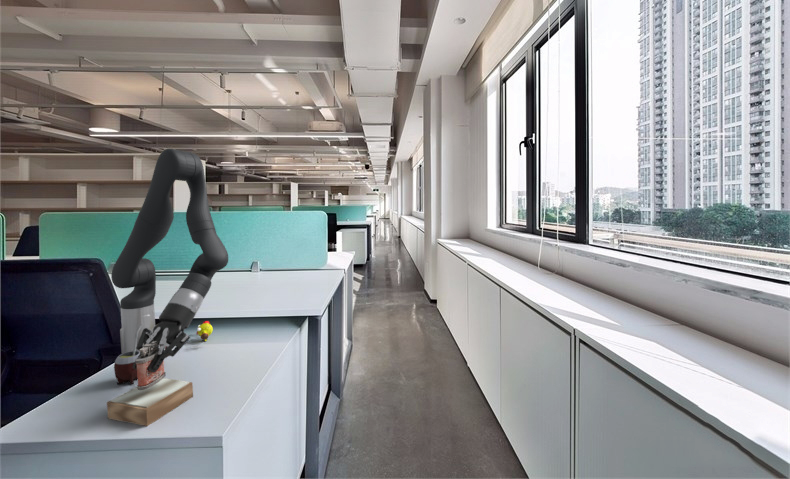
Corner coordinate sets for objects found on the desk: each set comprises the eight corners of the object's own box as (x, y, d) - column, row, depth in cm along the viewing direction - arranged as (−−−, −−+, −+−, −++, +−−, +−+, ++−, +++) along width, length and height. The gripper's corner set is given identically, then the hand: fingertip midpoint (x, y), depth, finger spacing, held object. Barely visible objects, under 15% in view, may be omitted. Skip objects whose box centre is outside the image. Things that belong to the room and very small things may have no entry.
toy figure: (198, 334, 138) (197, 317, 138) (213, 332, 141) (212, 316, 140) (195, 350, 122) (194, 332, 122) (212, 347, 125) (212, 329, 124)
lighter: (147, 390, 83) (144, 350, 82) (133, 390, 83) (130, 350, 82) (169, 374, 91) (166, 337, 90) (156, 374, 91) (153, 338, 90)
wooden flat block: (108, 418, 82) (106, 401, 82) (157, 390, 95) (156, 375, 95) (147, 426, 79) (146, 408, 79) (193, 396, 92) (192, 381, 92)
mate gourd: (116, 389, 96) (113, 337, 94) (113, 379, 101) (110, 330, 100) (149, 380, 101) (146, 331, 99) (144, 371, 106) (141, 324, 105)
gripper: (152, 300, 94) (109, 361, 83) (195, 303, 91) (155, 368, 80) (170, 313, 100) (132, 372, 89) (211, 316, 96) (176, 378, 85)
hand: (143, 369), depth 85 cm, fingers closed on lighter, 4 cm apart
